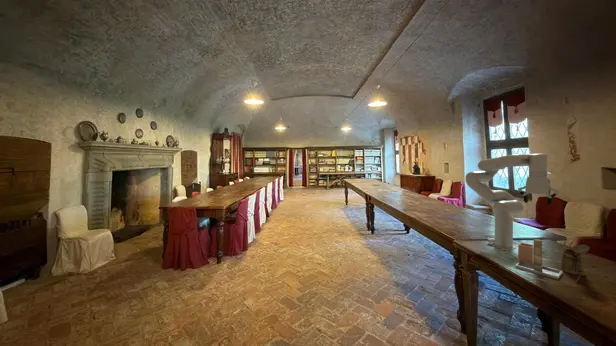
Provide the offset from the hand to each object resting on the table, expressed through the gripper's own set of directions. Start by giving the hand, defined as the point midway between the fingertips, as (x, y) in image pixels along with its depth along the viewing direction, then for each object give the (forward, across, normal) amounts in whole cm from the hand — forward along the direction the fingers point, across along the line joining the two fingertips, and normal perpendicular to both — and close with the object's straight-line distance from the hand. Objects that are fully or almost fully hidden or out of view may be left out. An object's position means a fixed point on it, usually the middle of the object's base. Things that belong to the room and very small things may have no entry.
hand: (537, 203), depth 135 cm
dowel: (+32, -5, +20) cm, 39 cm away
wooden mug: (+34, -16, +9) cm, 38 cm away
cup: (+33, +2, +10) cm, 35 cm away
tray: (+33, -5, +20) cm, 39 cm away
